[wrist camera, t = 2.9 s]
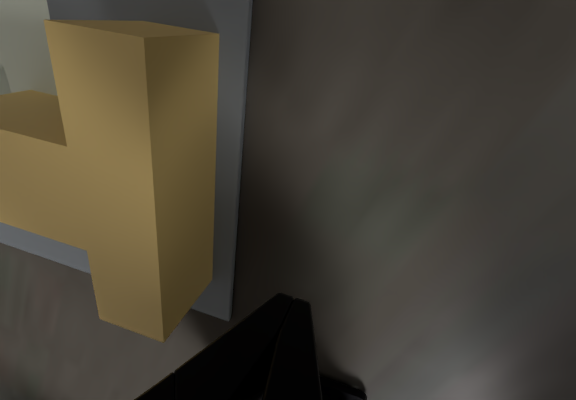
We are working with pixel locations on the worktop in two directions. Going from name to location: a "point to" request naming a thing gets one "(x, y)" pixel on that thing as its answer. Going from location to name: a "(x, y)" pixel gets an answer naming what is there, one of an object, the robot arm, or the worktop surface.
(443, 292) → the worktop surface
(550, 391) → the worktop surface
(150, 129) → the t block
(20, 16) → the mat
